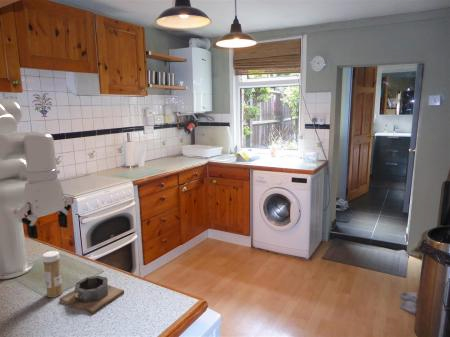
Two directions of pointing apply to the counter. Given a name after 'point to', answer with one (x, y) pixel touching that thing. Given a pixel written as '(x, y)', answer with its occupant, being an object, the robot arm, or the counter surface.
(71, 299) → the walnut board
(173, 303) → the counter surface
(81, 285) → the socket
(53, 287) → the sprinkles bottle
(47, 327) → the counter surface
